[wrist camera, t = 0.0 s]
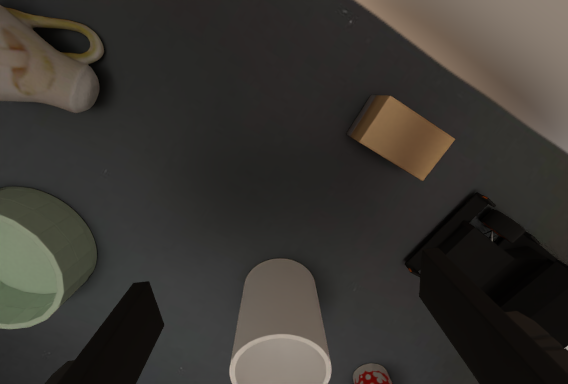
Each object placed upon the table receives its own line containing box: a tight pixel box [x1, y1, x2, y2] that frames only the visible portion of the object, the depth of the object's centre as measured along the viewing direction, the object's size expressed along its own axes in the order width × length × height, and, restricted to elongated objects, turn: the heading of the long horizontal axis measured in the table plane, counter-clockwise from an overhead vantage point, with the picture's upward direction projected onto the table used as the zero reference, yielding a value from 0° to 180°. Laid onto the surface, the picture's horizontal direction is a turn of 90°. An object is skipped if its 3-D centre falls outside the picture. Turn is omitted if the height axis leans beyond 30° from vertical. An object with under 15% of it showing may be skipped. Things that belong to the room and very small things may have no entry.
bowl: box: [0, 186, 97, 329], centre depth 27 cm, size 13×13×5 cm
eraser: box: [346, 95, 455, 181], centre depth 24 cm, size 6×4×4 cm, turn 60°
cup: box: [230, 258, 331, 384], centre depth 27 cm, size 8×12×10 cm
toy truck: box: [405, 193, 568, 348], centre depth 28 cm, size 10×20×7 cm, turn 54°
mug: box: [0, 5, 104, 113], centre depth 20 cm, size 8×10×10 cm
